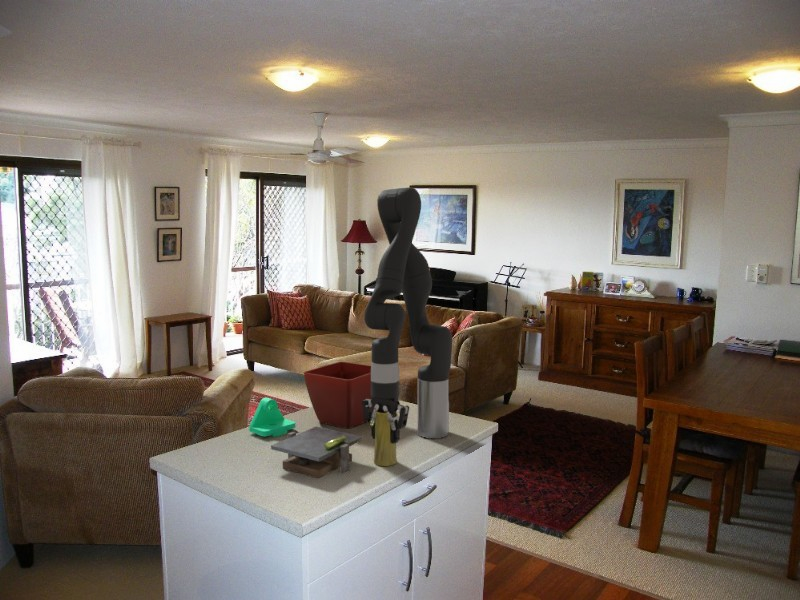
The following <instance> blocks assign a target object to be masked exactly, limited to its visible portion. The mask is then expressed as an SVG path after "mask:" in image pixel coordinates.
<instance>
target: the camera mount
mask: <svg viewBox="0 0 800 600" xmlns="http://www.w3.org/2000/svg"><path fill="white" fill-rule="evenodd" d="M248 429H249V430H248V431H249V432H250V433H253V434H255V435H258V436H261V437H269V436H271V437H273V438H275V437H280V436H282V435H286V434H288V431H289V430H292V429H296V421H294V420H290V419H287V418H285V417H284V415H283V413H282V412H281V411H280V409H279V408H278V402H277V401H276V400H275V399H273V398H269V397H263V398H262V399H261V400H260V401H259V403H258V406H257V408H256V410H255V413H254V414H253V417H252V419H251V422H250V424H249V426H248Z"/></svg>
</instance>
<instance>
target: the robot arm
mask: <svg viewBox="0 0 800 600" xmlns="http://www.w3.org/2000/svg"><path fill="white" fill-rule="evenodd" d="M376 202H377V203H376V204H377V205H376V206H377V211H378V212H377V213H378V215H379V218H380V222H381V224H382V227H383V230H384V232H385V235H386V238H387V240H388V241H387V242H388V243H389V246H388V247H387V249H386V250H385V251H384V253H383V254H382V256H381V259H380V261H379V264H378V268H377V276H376V281H375V287H374V289H373V291H372V295H371V296H370V299H369V300H368V302H367V305H366V307H365V309H364V316H363V318H364V323H365V325H366V326H367V328H368V329H370V330H378V331H379V330H380V331H388V335H387V336H386V337H380V338H376V339H374V340H373V341H372V343H371V365H370V366H371V396H372V398H371V399H365V400H363V401H362V408H363V414H364V420H365V422H364V423H368V424H369V425H370V430H371V431H370V432H371V433H370V435H371V437H372V440H374V441H375V418H376V411H377V412H380V413H388V415H387V419H388V422H390V425H391V428H392V430H391V443H393V444H395V443H396V444H397V443H398V442H399V440H400V439H401V438H400V430H401V429H404V428H405V427H407V423H408V417H409V411H410V406H409V405H402V404H401V403H400V400H399V397H400V367H399V347H400V339H401V336H402V332H403V328H404V325H405V321H406V313H407V318H408V327H409V331H410V332H409V334H410V340H411V344H412V347H413V349H414V351H416V353H418V354H420V355H423V356H430V362H429V364H428V365H424V366H421V367H419V368H418V370H417V421H416V422H417V423H416V424H417V430H416V432H417V433H416V434H417V435H418V436H419V437H421V436H422V437H421V438H424V437H426V439H431V438H435V439H441V437H443V438H445V437H444V436H446V437H447V436H448V434H449V430H450V402H449V381H450V380H449V375H450V371H451V366H452V352H453V335H452V332H451V330H450V328H448V327H447V326H444V325H439V324H438V325H437V324H430V323H429V319H428V315H427V308H426V307H427V303H428V299H429V297H430V295H431V291H432V287H433V281H432V273H431V271H430V266H429V262H428V260H427V258H426V257H425V255H423V253H422V252H421V251H420V250H419V249H418V247H416V246H415V244H414V243H413V240H414V237H415V234H416V230H417V227H418V224H419V220H420V217H421V212H422V197H421V195H420V193H419V192H418V190H417V189H415V188H414V187H410V186H409V187H401V188H399V187H398V188H392V189H384V190H382V191H380V192H379V194H378V196H377V201H376ZM401 294H402V297H403V300H404V306H405V308H404V307H403V306H402V305H401V304H400V303H393V302H391V303H390V302H386V301H387V300H388V299H390V298H394V297H398V296H399V295H401ZM405 309H406V312H405ZM371 406H373V408H374V411H373V413H372V407H371ZM394 414H395V417H394V418H392V415H394Z"/></svg>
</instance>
